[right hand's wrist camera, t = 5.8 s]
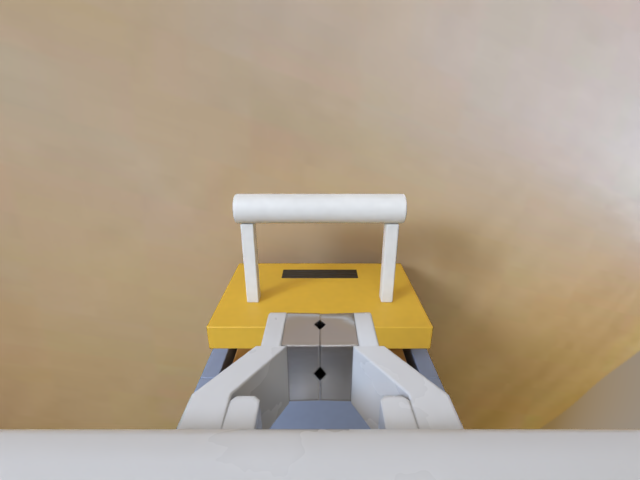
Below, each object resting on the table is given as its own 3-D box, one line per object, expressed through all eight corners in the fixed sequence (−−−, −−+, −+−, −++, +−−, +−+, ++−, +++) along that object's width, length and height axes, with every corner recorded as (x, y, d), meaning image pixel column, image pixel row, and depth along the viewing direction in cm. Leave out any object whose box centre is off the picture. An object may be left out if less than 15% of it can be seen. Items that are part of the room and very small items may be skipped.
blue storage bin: (236, 294, 24) (193, 391, 16) (403, 294, 24) (446, 392, 16) (253, 464, 30) (227, 598, 22) (386, 464, 30) (411, 598, 22)
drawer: (231, 176, 20) (189, 208, 14) (408, 175, 20) (449, 208, 14) (255, 440, 27) (235, 540, 21) (384, 440, 27) (404, 541, 21)
